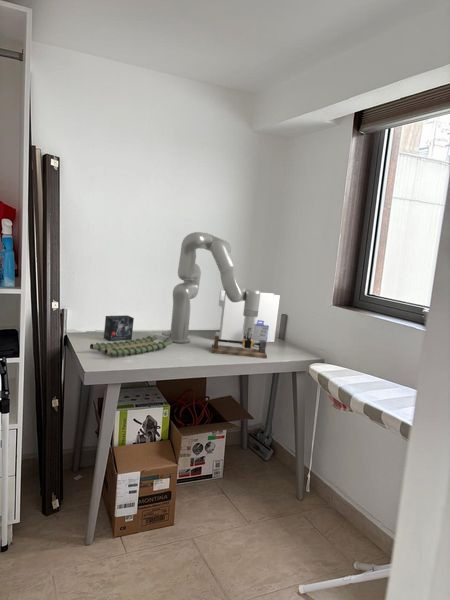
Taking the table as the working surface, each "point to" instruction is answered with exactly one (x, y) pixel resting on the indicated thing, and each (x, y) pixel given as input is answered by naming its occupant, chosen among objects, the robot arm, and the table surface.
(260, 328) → the ink cartridge box
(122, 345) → the olive green bumpy strip
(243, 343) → the sleeve
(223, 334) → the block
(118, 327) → the small box
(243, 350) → the cord board
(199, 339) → the table surface
